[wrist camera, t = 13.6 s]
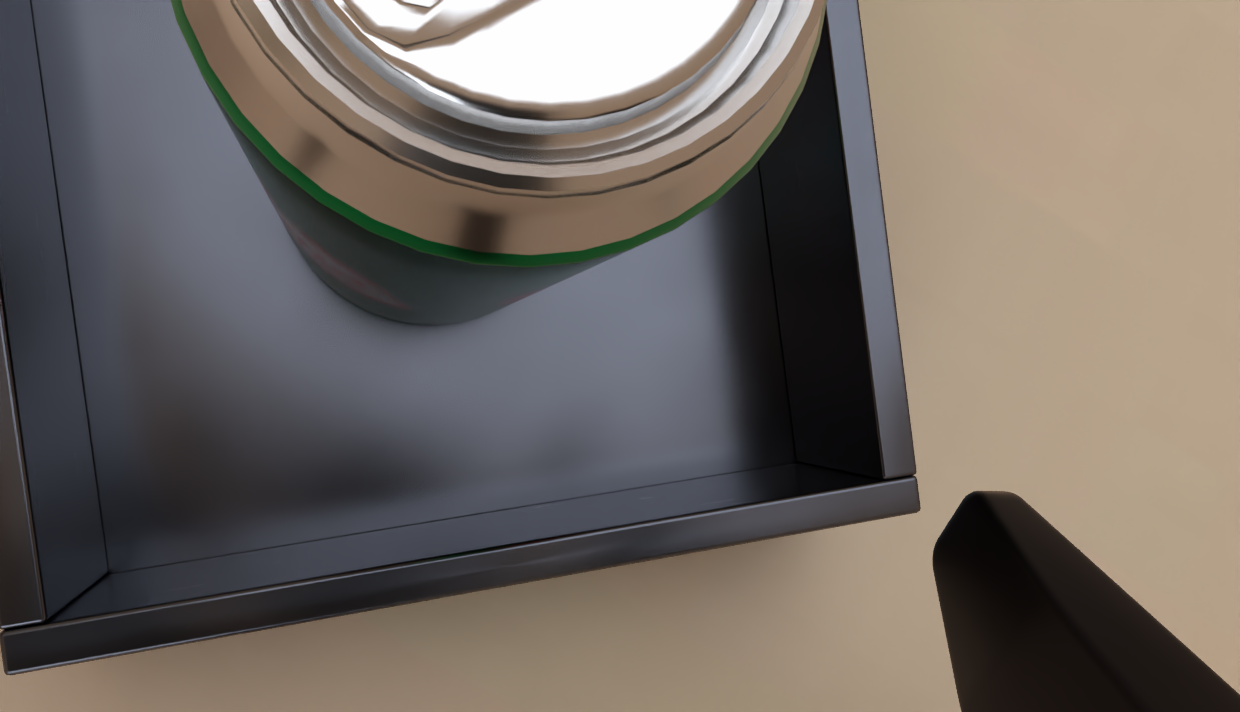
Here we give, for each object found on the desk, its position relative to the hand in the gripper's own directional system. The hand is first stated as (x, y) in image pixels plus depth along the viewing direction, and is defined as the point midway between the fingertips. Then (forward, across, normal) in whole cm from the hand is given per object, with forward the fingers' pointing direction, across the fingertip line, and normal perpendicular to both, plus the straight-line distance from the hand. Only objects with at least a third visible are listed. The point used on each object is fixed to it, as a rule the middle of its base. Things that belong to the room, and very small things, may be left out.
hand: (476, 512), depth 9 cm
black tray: (+11, 0, +4) cm, 11 cm away
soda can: (+10, 0, +4) cm, 11 cm away
